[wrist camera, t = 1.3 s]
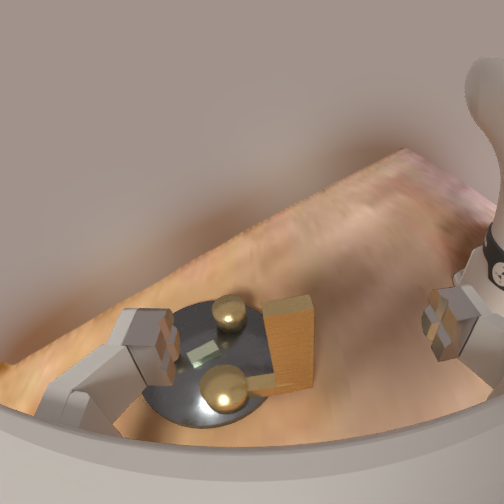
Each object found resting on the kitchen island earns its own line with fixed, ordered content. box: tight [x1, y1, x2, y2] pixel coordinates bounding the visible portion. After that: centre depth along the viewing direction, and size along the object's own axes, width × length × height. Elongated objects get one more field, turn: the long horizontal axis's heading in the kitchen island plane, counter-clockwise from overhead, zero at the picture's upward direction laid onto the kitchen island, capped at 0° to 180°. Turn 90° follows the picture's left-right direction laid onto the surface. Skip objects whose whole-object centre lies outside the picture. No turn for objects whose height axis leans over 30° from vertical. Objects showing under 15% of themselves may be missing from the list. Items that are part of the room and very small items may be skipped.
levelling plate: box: [142, 295, 274, 429], centre depth 42 cm, size 22×22×4 cm
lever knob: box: [199, 294, 314, 415], centre depth 32 cm, size 14×6×16 cm, turn 95°
